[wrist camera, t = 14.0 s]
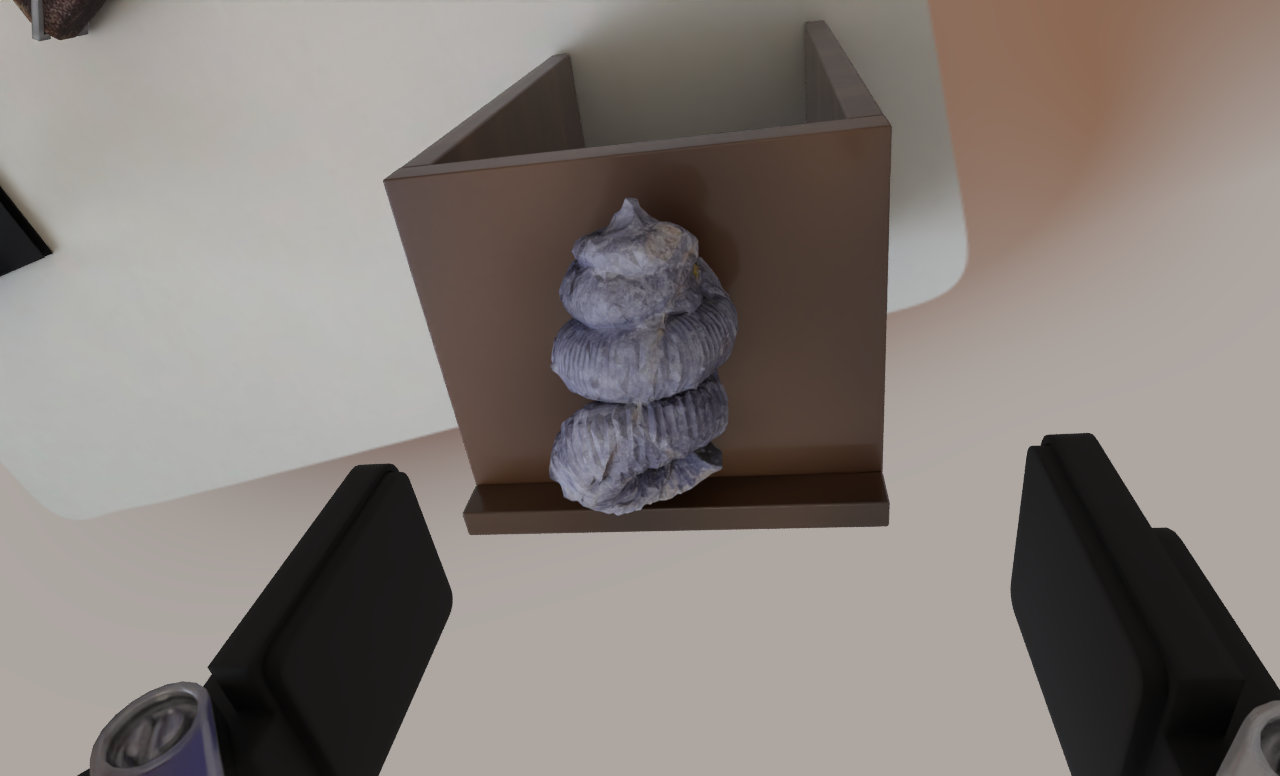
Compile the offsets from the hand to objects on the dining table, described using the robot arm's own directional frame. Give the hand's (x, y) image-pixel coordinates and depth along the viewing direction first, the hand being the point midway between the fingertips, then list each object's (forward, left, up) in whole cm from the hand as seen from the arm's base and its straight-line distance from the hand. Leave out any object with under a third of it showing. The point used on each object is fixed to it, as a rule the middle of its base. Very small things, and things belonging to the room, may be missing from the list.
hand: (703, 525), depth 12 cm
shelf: (+3, +3, -34) cm, 34 cm away
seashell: (+3, +3, -12) cm, 13 cm away
